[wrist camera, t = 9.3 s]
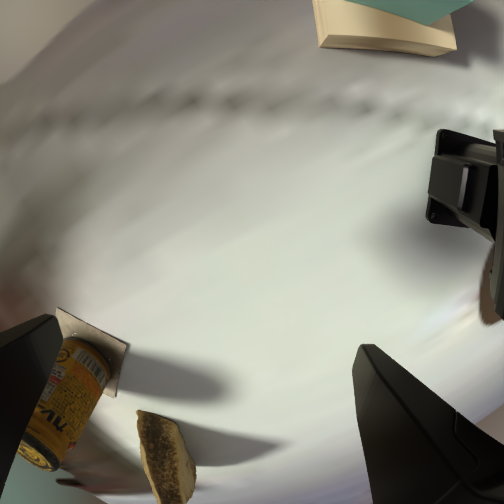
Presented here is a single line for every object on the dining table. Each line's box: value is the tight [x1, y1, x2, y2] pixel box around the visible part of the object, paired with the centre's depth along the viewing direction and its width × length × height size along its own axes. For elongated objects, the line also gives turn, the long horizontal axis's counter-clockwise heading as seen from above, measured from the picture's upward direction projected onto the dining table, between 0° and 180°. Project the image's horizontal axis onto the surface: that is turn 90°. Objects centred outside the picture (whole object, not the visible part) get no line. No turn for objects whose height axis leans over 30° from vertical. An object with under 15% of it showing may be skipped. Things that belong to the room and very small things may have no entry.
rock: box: [136, 410, 197, 504], centre depth 28 cm, size 11×9×10 cm
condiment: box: [17, 308, 126, 472], centre depth 21 cm, size 7×8×12 cm
